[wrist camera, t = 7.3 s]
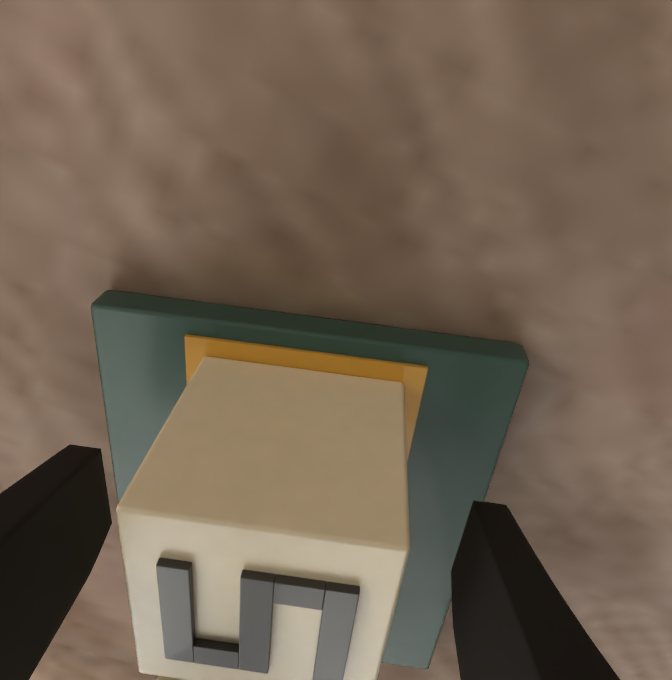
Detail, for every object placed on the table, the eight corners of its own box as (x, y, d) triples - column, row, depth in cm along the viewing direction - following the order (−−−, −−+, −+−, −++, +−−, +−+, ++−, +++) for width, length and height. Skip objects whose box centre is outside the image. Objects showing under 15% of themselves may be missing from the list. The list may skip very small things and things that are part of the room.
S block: (376, 523, 13) (370, 718, 9) (206, 499, 13) (133, 683, 10) (404, 381, 11) (411, 558, 7) (203, 354, 11) (108, 516, 7)
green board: (427, 644, 17) (428, 674, 16) (144, 603, 17) (132, 631, 16) (523, 342, 11) (532, 365, 11) (106, 287, 12) (85, 306, 11)
